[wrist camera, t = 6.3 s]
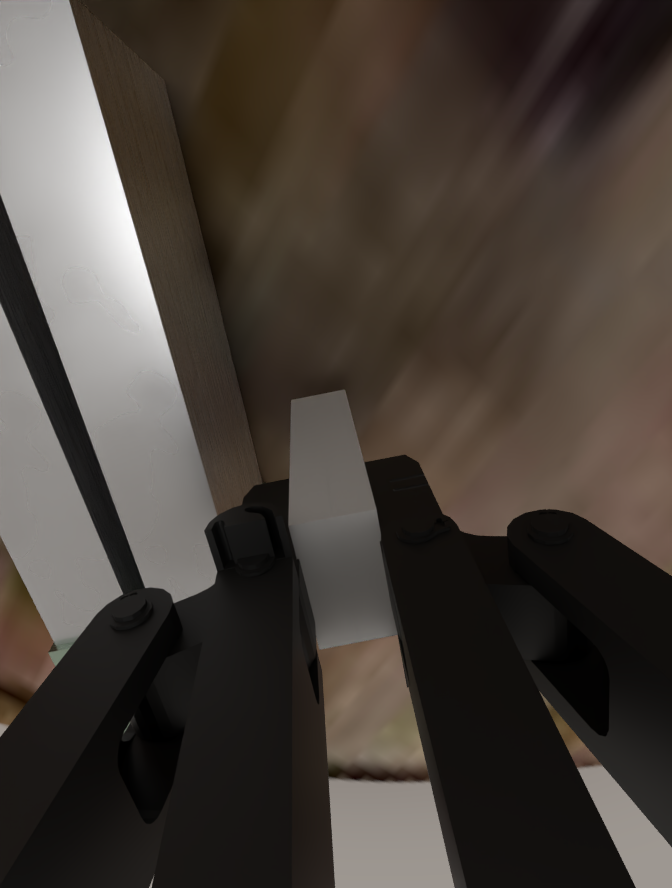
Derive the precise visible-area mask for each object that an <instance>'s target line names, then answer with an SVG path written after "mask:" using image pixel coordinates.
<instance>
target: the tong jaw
mask: <svg viewBox="0 0 672 888" xmlns="http://www.w3.org/2000/svg"><path fill="white" fill-rule="evenodd" d="M0 195H1V197H2V200H3V203H4V205H5V208H6V211H7V214H8V216H9V219H10V222H11V224H12V227H13V230H14V233H15V235H16V238H17V241H18V244H19V246H20V249H21V252H22V254H23V257H24V260H25V263H26V265H27V268H28V271H29V273H30V276H31V279H32V282H33V284H34V287H35V290H36V292H37V295H38V298H39V301H40V303H41V306H42V309H43V311H44V314H45V317H46V320H47V322H48V325H49V328H50V331H51V333H52V336H53V339H54V341H55V344H56V347H57V350H58V352H59V355H60V358H61V360H62V363H63V366H64V369H65V371H66V374H67V377H68V379H69V382H70V385H71V388H72V390H73V393H74V396H75V398H76V401H77V404H78V407H79V409H80V412H81V415H82V417H83V420H84V423H85V426H86V428H87V431H88V434H89V437H90V439H91V442H92V445H93V447H94V450H95V453H96V456H97V458H98V461H99V464H100V466H101V469H102V472H103V475H104V477H105V480H106V483H107V485H108V488H109V491H110V494H111V496H112V499H113V502H114V504H115V507H116V510H117V513H118V515H119V518H120V521H121V524H122V526H123V529H124V532H125V534H126V537H127V540H128V543H129V545H130V548H131V551H132V553H133V556H134V559H135V562H136V564H137V567H138V570H139V572H140V575H141V578H142V581H143V583H144V586H145V588H149V587H152V588H161V589H164V590H165V591H167V592H168V593H170V594H171V596H172V599H173V602H174V603H176V602H178V601H181V600H183V599H186V598H188V597H191V596H193V595H196V594H198V593H200V592H202V591H204V590H206V589H208V588H209V587H211V586H212V585H214V584H215V579H216V574H217V569H216V566H215V563H214V560H213V557H212V554H211V551H210V547H209V544H208V541H207V538H206V535H205V532H204V530H205V528H206V527H207V525H208V523H209V522H210V521H211V520H213V519H214V518H215V517H216V516H217V515H219V514H221V513H223V512H225V511H227V510H229V509H231V508H233V507H237V506H240V505H242V502H243V498H244V497H245V495H246V494H247V493H248V492H249V491H250V490H251V488H252V487H253V486H254V485H259V484H265V483H266V482H264V483H263V482H262V478H261V474H260V470H259V466H258V462H257V458H256V454H255V450H254V445H253V441H252V437H251V433H250V429H249V425H248V421H247V417H246V413H245V409H244V405H243V400H242V396H241V392H240V388H239V384H238V380H237V376H236V372H235V368H234V364H233V359H232V355H231V351H230V347H229V343H228V339H227V335H226V331H225V327H224V323H223V318H222V314H221V310H220V306H219V302H218V298H217V294H216V290H215V286H214V282H213V278H212V273H211V269H210V265H209V261H208V257H207V253H206V249H205V245H204V241H203V237H202V232H201V228H200V224H199V220H198V216H197V212H196V208H195V204H194V200H193V196H192V191H191V187H190V183H189V179H188V175H187V171H186V167H185V163H184V159H183V155H182V151H181V146H180V142H179V138H178V134H177V130H176V126H175V122H174V118H173V114H172V110H171V105H170V101H169V97H168V93H167V89H166V85H165V81H164V80H163V79H162V78H161V77H160V76H159V75H158V74H157V73H156V72H155V71H154V70H153V69H152V68H151V67H149V66H148V65H147V64H146V63H145V62H144V61H143V60H142V59H141V58H140V57H139V56H138V55H137V54H135V53H134V52H133V51H132V50H131V49H130V48H129V47H128V46H127V45H126V44H125V43H124V42H123V41H122V40H120V39H119V38H118V37H117V36H116V35H115V34H114V33H113V32H112V31H111V30H110V29H109V28H108V27H106V26H105V25H104V24H103V23H102V22H101V21H100V20H99V19H98V18H97V17H96V16H95V15H94V14H93V13H91V12H90V11H89V10H88V9H87V8H86V7H85V6H84V5H83V4H82V3H81V2H80V1H79V0H0Z"/></svg>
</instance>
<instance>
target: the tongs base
mask: <svg viewBox="0 0 672 888" xmlns="http://www.w3.org/2000/svg"><path fill="white" fill-rule="evenodd" d="M0 536H1V538H2V540H3V542H4V544H5V546H6V548H7V550H8V552H9V554H10V556H11V558H12V560H13V562H14V564H15V566H16V568H17V570H18V572H19V574H20V575H21V577H22V579H23V581H24V583H25V585H26V587H27V589H28V591H29V593H30V595H31V597H32V599H33V601H34V603H35V605H36V607H37V609H38V611H39V613H40V615H41V617H42V619H43V621H44V623H45V625H46V627H47V629H48V631H49V633H50V635H51V637H52V639H53V641H54V643H53V645H52V647H51V649H50V651H49V652H48V653H49V655H50V657H51V659H52V661H53V662H54V664H55V666H56V665H57V664H58V663H59V662H60V660H61V659H62V658H63V656H64V655H65V654H66V653H67V651H68V650H69V649H70V647H71V646H72V645H73V644H74V642H75V641H76V640H77V638H78V637H79V636H80V635H81V633H82V632H83V631H84V630H85V628H86V627H87V626H88V624H89V623H90V622H91V621H92V619H93V618H94V617H95V615H96V614H97V613H98V612H99V611H101V610H102V609H103V608H104V607H105V606H106V605H107V604H108V603H110V602H111V601H113V600H115V599H116V598H118V597H119V596H121V595H123V594H125V593H127V592H128V593H129V592H130V591H134V590H137V589H143V588H145V586H144V583H143V581H142V578H141V575H140V572H139V570H138V567H137V564H136V562H135V559H134V556H133V553H132V551H131V548H130V545H129V543H128V540H127V537H126V534H125V532H124V529H123V526H122V524H121V521H120V518H119V515H118V513H117V510H116V507H115V504H114V502H113V499H112V496H111V494H110V491H109V488H108V485H107V483H106V480H105V477H104V475H103V472H102V469H101V466H100V464H99V461H98V458H97V456H96V453H95V450H94V447H93V445H92V442H91V439H90V437H89V434H88V431H87V428H86V426H85V423H84V420H83V417H82V415H81V412H80V409H79V407H78V404H77V401H76V398H75V396H74V393H73V390H72V388H71V385H70V382H69V379H68V377H67V374H66V371H65V369H64V366H63V363H62V360H61V358H60V355H59V352H58V350H57V347H56V344H55V341H54V339H53V336H52V333H51V331H50V328H49V325H48V322H47V320H46V317H45V314H44V311H43V309H42V306H41V303H40V301H39V298H38V295H37V292H36V290H35V287H34V284H33V282H32V279H31V276H30V273H29V271H28V268H27V265H26V263H25V260H24V257H23V254H22V252H21V249H20V246H19V244H18V241H17V238H16V235H15V233H14V230H13V227H12V224H11V222H10V219H9V216H8V214H7V211H6V208H5V205H4V203H3V200H2V197H1V195H0ZM129 724H130V722H129ZM129 724H128V725H129ZM127 727H128V726H127ZM126 729H127V728H126ZM125 731H126V730H125ZM125 731H124V733H125Z"/></svg>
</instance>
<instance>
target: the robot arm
mask: <svg viewBox="0 0 672 888" xmlns="http://www.w3.org/2000/svg"><path fill="white" fill-rule="evenodd" d="M204 532H205V535H206V538H207V541H208V544H209V547H210V551H211V554H212V557H213V560H214V563H215V566H216V569H217V574H216V579H215V584H214V585H212V586H211V587H209V588H208V589H206V590H204V591H202V592H200V593H198V594H196V595H193V596H191V597H188V598H186V599H183V600H181V601H178V602H176V603H174V602H173V599H172V596H171V594H170V593H168V592H167V591H165V590H164V589H161V588H152V587H149V588H143V589H137V590H134V591H130V592H129V593H128V592H127V593H125V594H123V595H121V596H119V597H118V598H116V599H115V600H113V601H111V602H110V603H108V604H107V605H106V606H105V607H104V608H103V609H102V610H101V611H99V612H98V613H97V614H96V615H95V617H94V618H93V619H92V621H91V622H90V623H89V624H88V626H87V627H86V628H85V630H84V631H83V632H82V633H81V635H80V636H79V637H78V638H77V640H76V641H75V642H74V644H73V645H72V646H71V647H70V649H69V650H68V651H67V653H66V654H65V655H64V656H63V658H62V659H61V660H60V662H59V663H58V664H57V665H56V667H55V668H54V669H53V670H52V672H51V673H50V674H49V676H48V677H47V678H46V679H45V681H44V682H43V683H42V685H41V686H40V687H39V688H38V690H37V691H36V692H35V693H34V695H33V696H32V697H31V699H30V700H29V701H28V702H27V704H26V705H25V706H24V708H23V709H22V710H21V711H20V713H19V714H18V715H17V716H16V718H15V719H14V720H13V722H12V723H11V724H10V725H9V727H8V728H7V729H6V731H5V732H4V733H3V734H2V736H1V737H0V888H149V886H150V884H151V881H152V879H153V876H154V879H153V884H152V888H335V880H334V864H333V847H332V830H331V813H330V797H329V780H328V763H327V747H326V730H325V713H324V697H323V680H322V669H321V665H320V661H319V657H318V654H317V649H316V637H317V641H318V645H319V649H325V648H331V647H336V646H341V645H346V644H352V643H357V642H362V641H367V640H373V639H378V638H383V637H389V636H394V635H398V639H399V644H400V650H401V656H402V661H403V667H404V672H405V678H406V684H407V687H409V690H410V695H411V699H412V704H413V708H414V712H415V717H416V721H417V725H418V730H419V734H420V738H421V743H422V747H423V752H424V756H425V760H426V765H427V769H428V773H429V778H430V782H431V786H432V791H433V795H434V799H435V804H436V808H437V812H438V817H439V821H440V825H441V830H442V834H443V839H444V843H445V847H446V852H447V856H448V861H449V865H450V869H451V873H452V878H453V882H454V887H455V888H636V887H635V885H634V883H633V881H632V879H631V877H630V875H629V873H628V871H627V869H626V867H625V865H624V863H623V861H622V859H621V857H620V855H619V853H618V851H617V848H616V847H615V845H614V842H613V840H612V839H611V836H610V834H609V832H608V830H607V828H606V826H605V824H604V822H603V820H602V818H601V816H600V814H599V812H598V810H597V808H596V806H595V804H594V802H593V800H592V798H591V796H590V794H589V792H588V790H587V788H586V786H585V784H584V782H583V779H582V777H581V775H580V773H579V771H578V769H577V767H576V765H575V763H574V761H573V759H572V757H571V755H570V753H569V751H568V749H567V747H566V745H565V743H564V741H563V739H562V737H561V735H560V733H559V731H558V729H557V727H556V725H555V723H554V721H553V719H552V717H551V715H550V713H549V710H548V708H547V706H546V704H545V702H544V700H543V698H542V696H541V694H540V692H541V693H542V695H543V696H544V697H545V698H546V699H547V700H548V702H549V703H550V704H551V705H552V706H553V708H554V709H555V710H556V711H557V712H558V713H559V715H560V716H561V717H562V718H563V719H564V721H565V722H566V723H567V724H568V725H569V726H570V728H571V729H572V730H573V731H574V732H575V733H576V735H577V736H578V737H579V738H580V739H581V741H582V742H583V743H584V744H585V745H586V746H587V748H588V749H589V750H590V751H591V752H592V754H593V755H594V756H595V757H596V758H597V759H598V761H599V762H600V763H601V764H602V765H603V767H604V768H605V769H606V770H607V771H608V772H609V774H610V775H611V776H612V777H613V778H614V779H615V781H616V782H617V783H618V784H619V785H620V786H621V788H622V789H623V790H624V791H625V792H626V794H627V795H628V796H629V797H630V798H631V799H632V801H633V802H634V803H635V804H636V805H637V807H638V808H639V809H640V810H641V811H642V813H643V814H644V815H645V816H646V817H647V818H648V820H649V821H650V822H651V823H652V824H653V825H654V827H655V828H656V829H657V830H658V831H659V833H660V834H661V835H662V836H663V837H664V838H665V840H666V841H667V842H668V843H669V844H670V846H671V847H672V576H671V575H669V574H668V573H666V572H665V571H663V570H662V569H660V568H659V567H657V566H656V565H654V564H653V563H651V562H649V561H648V560H646V559H645V558H643V557H642V556H640V555H639V554H637V553H636V552H634V551H633V550H631V549H630V548H628V547H627V546H625V545H624V544H622V543H621V542H619V541H618V540H616V539H615V538H613V537H612V536H610V535H609V534H607V533H606V532H604V531H603V530H601V529H600V528H598V527H597V526H595V525H594V524H592V523H591V522H589V521H588V520H586V519H584V518H582V517H580V516H578V515H576V514H573V513H570V512H565V511H560V510H552V509H548V510H546V509H545V510H537V511H532V512H528V513H524V514H522V515H520V516H519V517H517V518H515V519H513V521H512V522H511V523H510V524H509V525H508V527H507V536H478V535H472V534H468V533H464V532H462V531H460V530H459V528H458V526H457V524H456V523H455V522H454V521H453V520H452V519H451V518H450V517H448V516H446V515H443V514H442V511H441V509H440V507H439V505H438V503H437V501H436V499H435V497H434V494H433V492H432V490H431V488H430V486H429V485H428V482H427V480H426V477H425V476H424V473H423V471H422V469H421V467H420V465H419V463H418V462H417V461H415V460H413V459H412V458H410V457H408V456H407V455H400V456H395V457H390V458H385V459H380V460H375V461H369V462H364V460H363V456H362V452H361V449H360V445H359V441H358V437H357V433H356V429H355V426H354V422H353V418H352V414H351V410H350V407H349V403H348V399H347V395H346V391H345V389H344V390H339V391H334V392H329V393H324V394H319V395H314V396H308V397H303V398H298V399H293V400H291V428H290V475H289V479H285V480H280V481H275V482H270V483H265V484H259V485H254V486H253V487H252V488H251V490H250V491H249V492H248V493H247V494H246V495H245V497H244V498H243V502H242V505H240V506H237V507H233V508H231V509H229V510H227V511H225V512H223V513H221V514H219V515H217V516H216V517H215V518H214V519H213V520H211V521H210V522H209V523H208V525H207V527H206V528H205V530H204ZM539 691H540V692H539ZM129 722H130V724H129ZM128 724H129V725H128ZM127 726H128V727H127ZM126 728H127V729H126ZM125 730H126V731H125ZM124 731H125V733H124Z"/></svg>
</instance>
